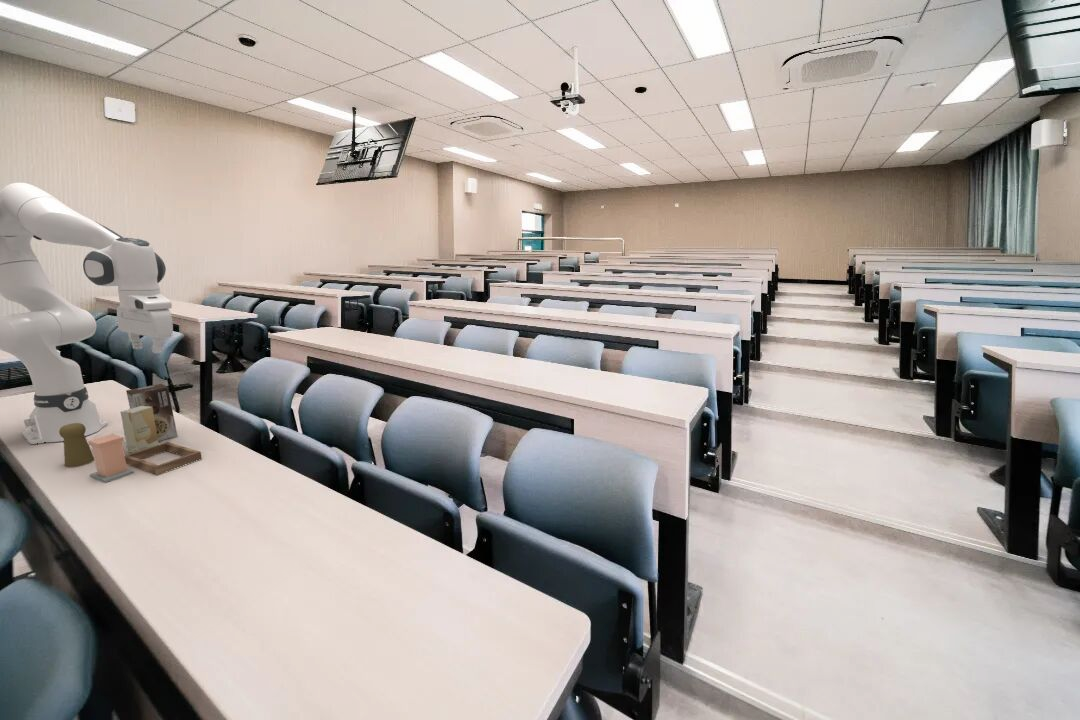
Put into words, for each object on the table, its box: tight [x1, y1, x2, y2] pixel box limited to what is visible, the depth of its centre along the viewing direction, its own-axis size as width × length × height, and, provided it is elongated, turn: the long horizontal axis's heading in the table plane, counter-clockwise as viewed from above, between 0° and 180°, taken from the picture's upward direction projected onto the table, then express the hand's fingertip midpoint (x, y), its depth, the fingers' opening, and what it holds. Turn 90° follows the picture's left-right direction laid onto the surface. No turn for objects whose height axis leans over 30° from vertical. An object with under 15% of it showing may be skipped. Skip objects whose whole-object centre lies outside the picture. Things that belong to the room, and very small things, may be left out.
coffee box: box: [126, 383, 178, 442], centre depth 151 cm, size 9×6×16 cm
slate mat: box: [89, 468, 135, 483], centre depth 129 cm, size 8×6×1 cm
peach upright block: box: [87, 433, 128, 477], centre depth 128 cm, size 5×5×9 cm
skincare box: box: [120, 406, 160, 453], centre depth 144 cm, size 6×4×12 cm
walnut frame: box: [124, 441, 203, 476], centre depth 136 cm, size 16×11×2 cm
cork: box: [59, 423, 95, 468], centre depth 135 cm, size 6×6×11 cm
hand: (147, 350), depth 136 cm, fingers open, 8 cm apart
